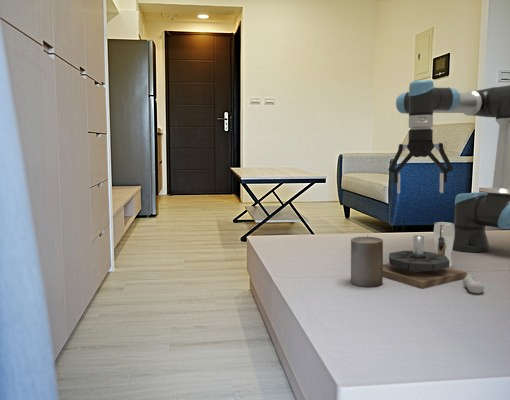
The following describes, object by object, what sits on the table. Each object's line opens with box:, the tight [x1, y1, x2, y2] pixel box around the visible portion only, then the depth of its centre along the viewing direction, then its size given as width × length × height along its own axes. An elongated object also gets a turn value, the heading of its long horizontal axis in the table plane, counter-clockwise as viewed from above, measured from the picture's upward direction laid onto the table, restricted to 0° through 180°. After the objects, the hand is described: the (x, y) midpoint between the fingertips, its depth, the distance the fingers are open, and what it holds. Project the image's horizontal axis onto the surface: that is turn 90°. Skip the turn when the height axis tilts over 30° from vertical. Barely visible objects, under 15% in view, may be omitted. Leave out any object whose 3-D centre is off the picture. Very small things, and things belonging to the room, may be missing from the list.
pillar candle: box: [350, 234, 384, 288], centre depth 146 cm, size 10×10×15 cm
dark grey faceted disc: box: [388, 250, 450, 271], centre depth 154 cm, size 18×18×2 cm
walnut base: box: [382, 263, 468, 289], centre depth 154 cm, size 21×21×2 cm
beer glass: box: [433, 221, 455, 268], centre depth 166 cm, size 7×7×15 cm
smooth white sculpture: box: [462, 274, 485, 295], centre depth 138 cm, size 4×8×5 cm
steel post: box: [412, 234, 425, 271], centre depth 154 cm, size 4×4×11 cm
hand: (419, 192), depth 158 cm, fingers open, 13 cm apart
